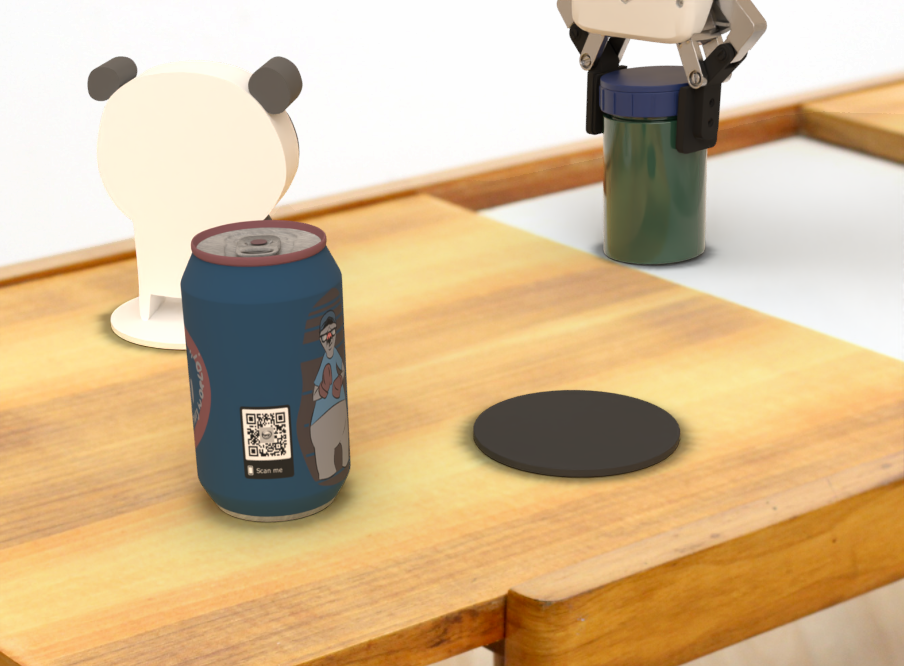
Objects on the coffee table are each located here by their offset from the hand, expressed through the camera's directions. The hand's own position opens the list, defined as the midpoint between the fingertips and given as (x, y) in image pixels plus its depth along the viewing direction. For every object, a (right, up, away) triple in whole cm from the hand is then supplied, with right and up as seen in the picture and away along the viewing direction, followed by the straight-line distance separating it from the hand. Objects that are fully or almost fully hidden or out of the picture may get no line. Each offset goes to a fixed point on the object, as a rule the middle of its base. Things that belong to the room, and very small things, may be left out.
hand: (649, 138), depth 99 cm
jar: (+1, -6, +3) cm, 7 cm away
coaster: (-8, -21, -23) cm, 32 cm away
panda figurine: (-28, -12, -5) cm, 31 cm away
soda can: (-22, -24, -28) cm, 43 cm away
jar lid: (0, +3, -1) cm, 3 cm away
